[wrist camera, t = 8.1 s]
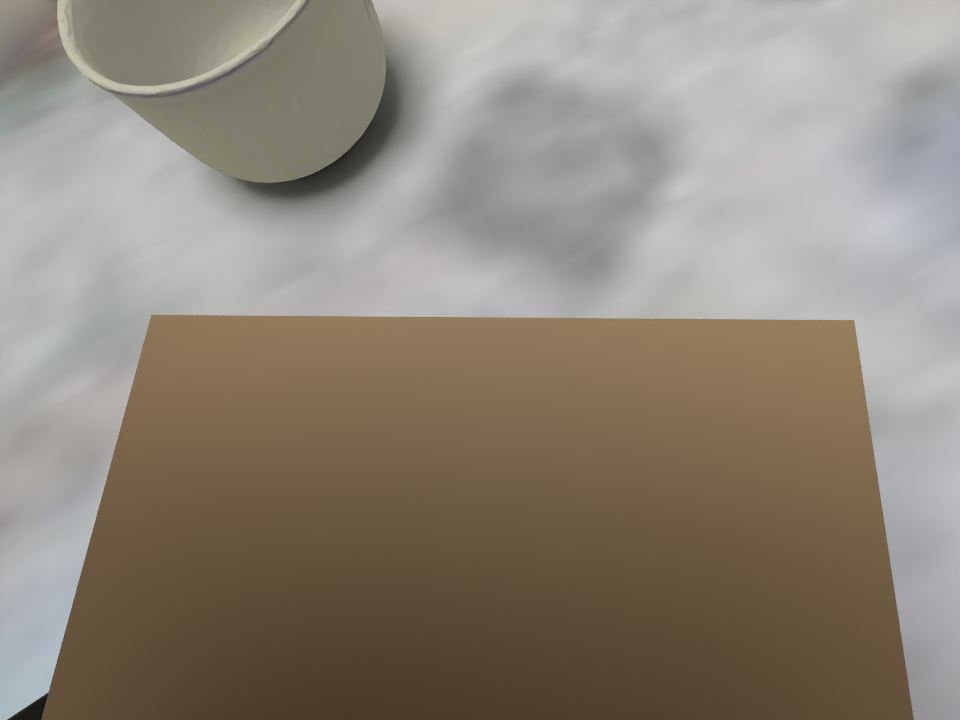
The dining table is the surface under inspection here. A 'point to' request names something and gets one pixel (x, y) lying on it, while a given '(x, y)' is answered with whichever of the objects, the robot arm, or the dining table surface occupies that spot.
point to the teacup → (238, 75)
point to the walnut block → (488, 526)
